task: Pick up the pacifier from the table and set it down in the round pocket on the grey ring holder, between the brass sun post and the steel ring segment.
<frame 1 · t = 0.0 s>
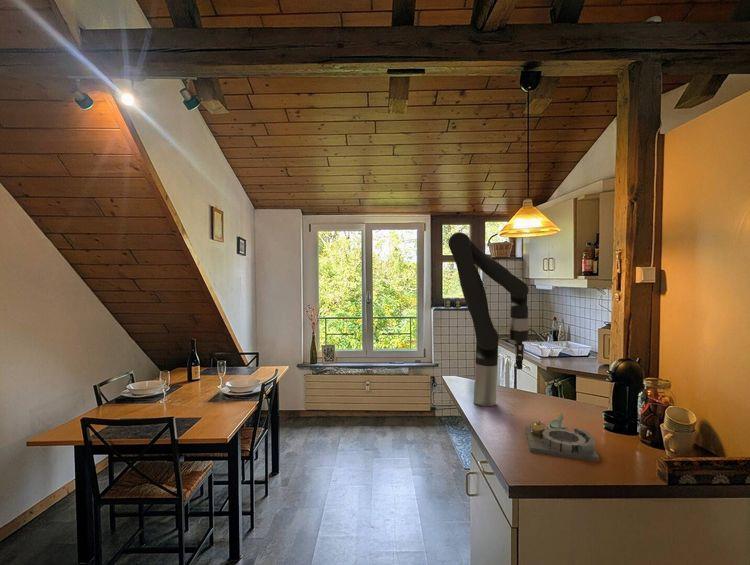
hand: (518, 366, 173), 17 cm above the counter, tool pointing down, fingers open, 8 cm apart
grey ring holder: (559, 444, 138), on the counter
pacifier: (556, 430, 152), on the counter
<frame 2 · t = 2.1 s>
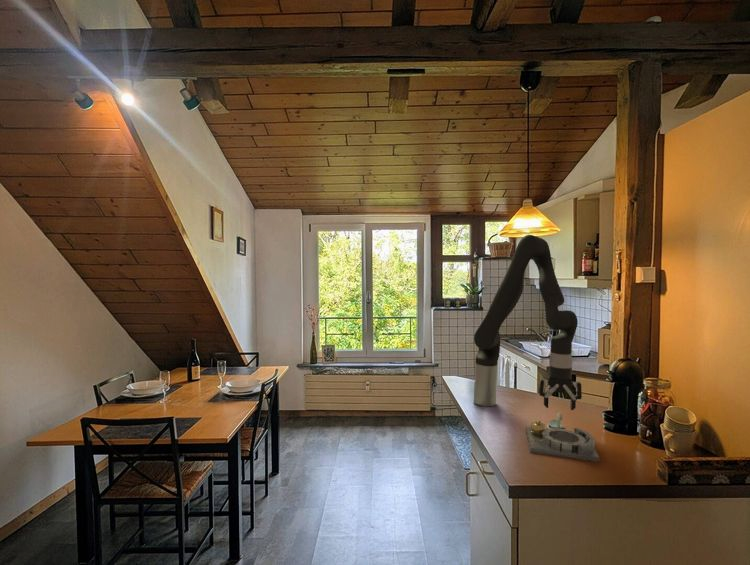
hand: (559, 408, 151), 8 cm above the counter, tool pointing down, fingers open, 8 cm apart
nothing on the counter moved.
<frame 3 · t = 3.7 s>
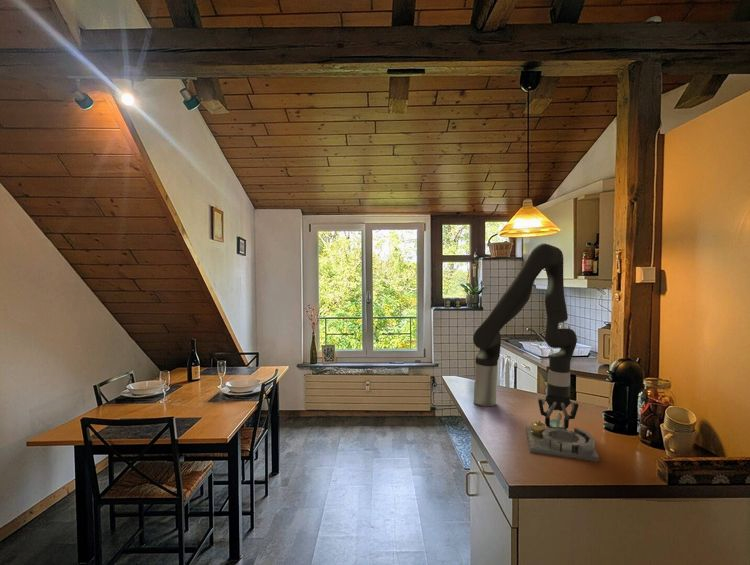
hand: (556, 427, 152), 1 cm above the counter, tool pointing down, fingers closed on pacifier, 5 cm apart
pacifier: (554, 429, 152), on the counter, touching gripper
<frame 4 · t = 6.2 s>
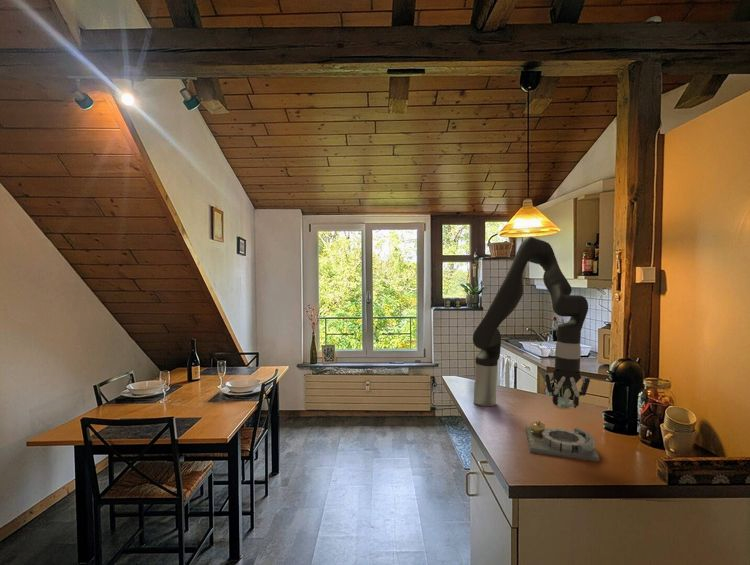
hand: (565, 405, 137), 14 cm above the counter, tool pointing down, fingers closed on pacifier, 5 cm apart
pacifier: (563, 407, 137), point 13 cm above the counter, touching gripper
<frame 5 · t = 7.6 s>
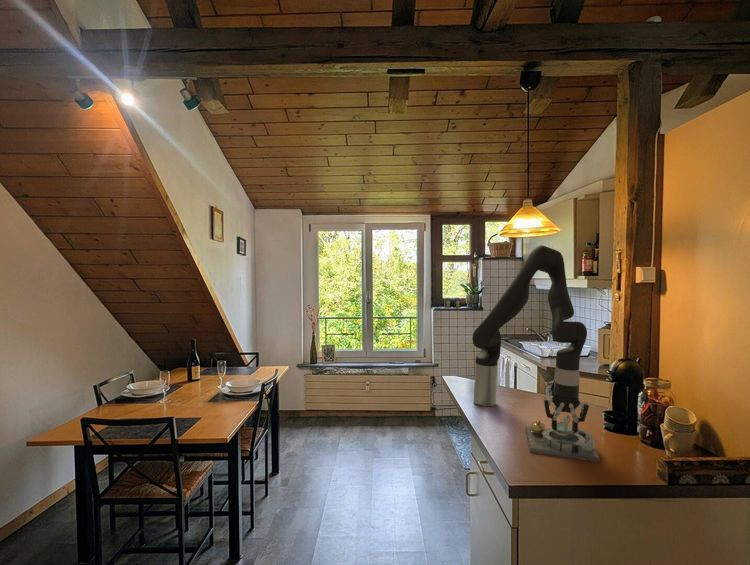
hand: (564, 431, 137), 5 cm above the counter, tool pointing down, fingers closed on pacifier, 5 cm apart
pacifier: (562, 433, 137), point 4 cm above the counter, touching gripper
when the fingers open (4 cm above the counter, at t = 8.8 s): pacifier drops 2 cm, resting on grey ring holder.
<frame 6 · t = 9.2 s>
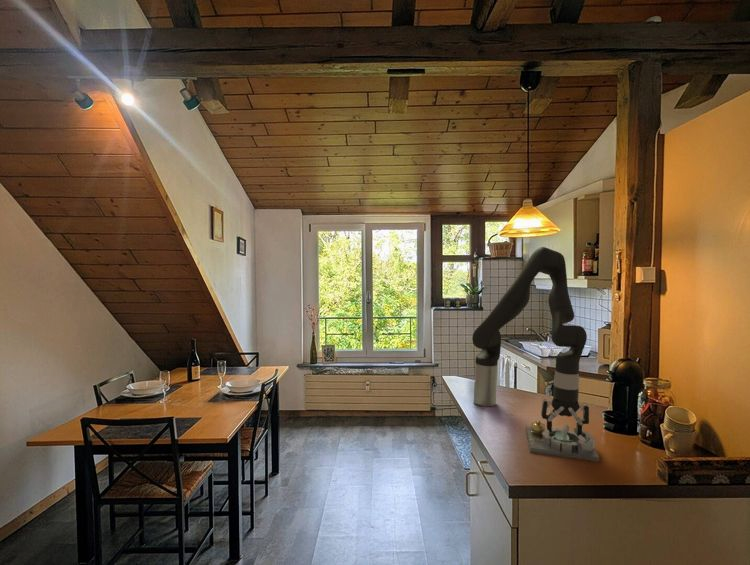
hand: (563, 433, 137), 5 cm above the counter, tool pointing down, fingers open, 8 cm apart
pacifier: (561, 442, 137), point 1 cm above the counter, touching grey ring holder
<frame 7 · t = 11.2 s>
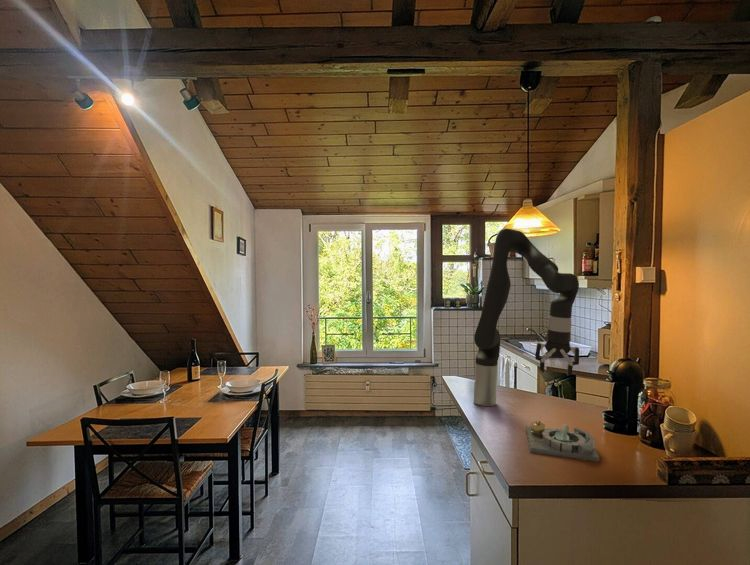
hand: (555, 373, 147), 21 cm above the counter, tool pointing down, fingers open, 8 cm apart
nothing on the counter moved.
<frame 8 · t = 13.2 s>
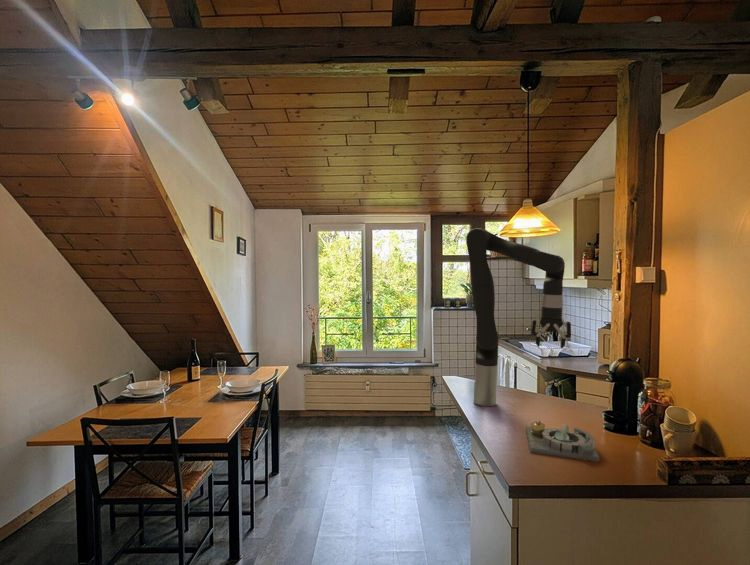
hand: (550, 346, 162), 28 cm above the counter, tool pointing down, fingers open, 8 cm apart
nothing on the counter moved.
at the end: pacifier 0.7 cm from the target spot on the grey ring holder, point 1.3 cm above the grey ring holder's base; the gripper is holding nothing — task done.
